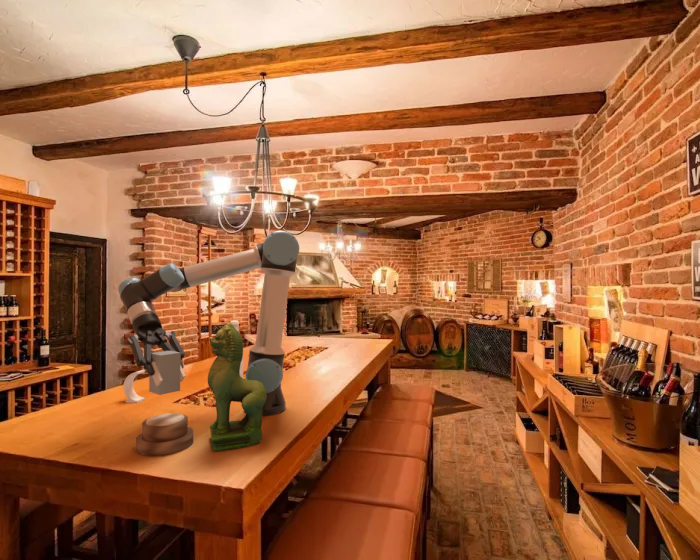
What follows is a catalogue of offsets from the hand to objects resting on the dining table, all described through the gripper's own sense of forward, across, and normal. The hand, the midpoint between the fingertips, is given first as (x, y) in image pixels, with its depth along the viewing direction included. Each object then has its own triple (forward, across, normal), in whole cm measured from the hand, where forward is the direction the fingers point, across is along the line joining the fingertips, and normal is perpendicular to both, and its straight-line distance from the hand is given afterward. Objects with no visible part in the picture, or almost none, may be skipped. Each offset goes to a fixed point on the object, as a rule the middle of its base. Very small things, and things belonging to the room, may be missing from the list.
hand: (171, 381), depth 112 cm
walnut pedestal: (+11, 0, -16) cm, 19 cm away
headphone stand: (-26, -15, -53) cm, 61 cm away
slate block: (0, 0, -5) cm, 5 cm away
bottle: (-18, -54, -45) cm, 72 cm away
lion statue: (+21, -15, -6) cm, 26 cm away
